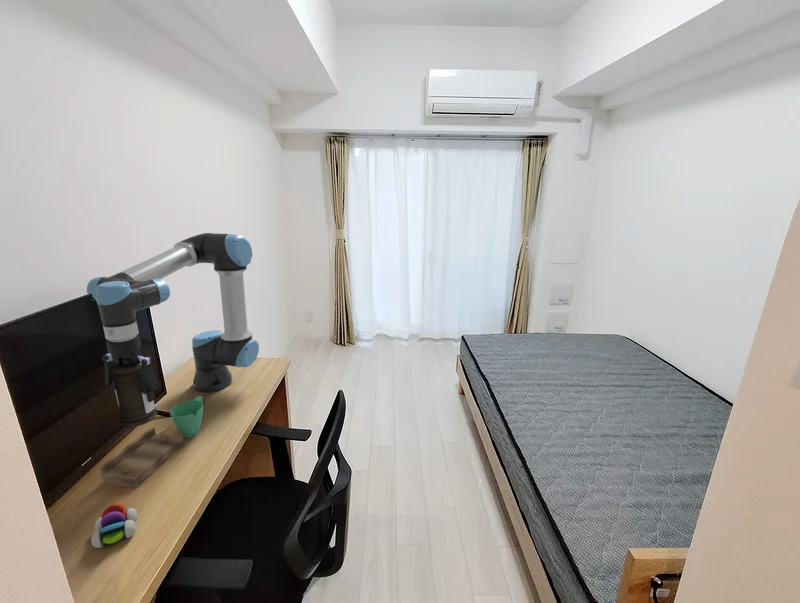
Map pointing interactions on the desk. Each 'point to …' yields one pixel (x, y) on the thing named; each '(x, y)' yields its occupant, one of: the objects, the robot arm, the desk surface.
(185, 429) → the mug
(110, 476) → the ledge
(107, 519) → the rainbow striped lobed toy
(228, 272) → the robot arm
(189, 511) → the desk surface
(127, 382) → the container
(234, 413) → the desk surface
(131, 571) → the desk surface
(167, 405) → the desk surface
